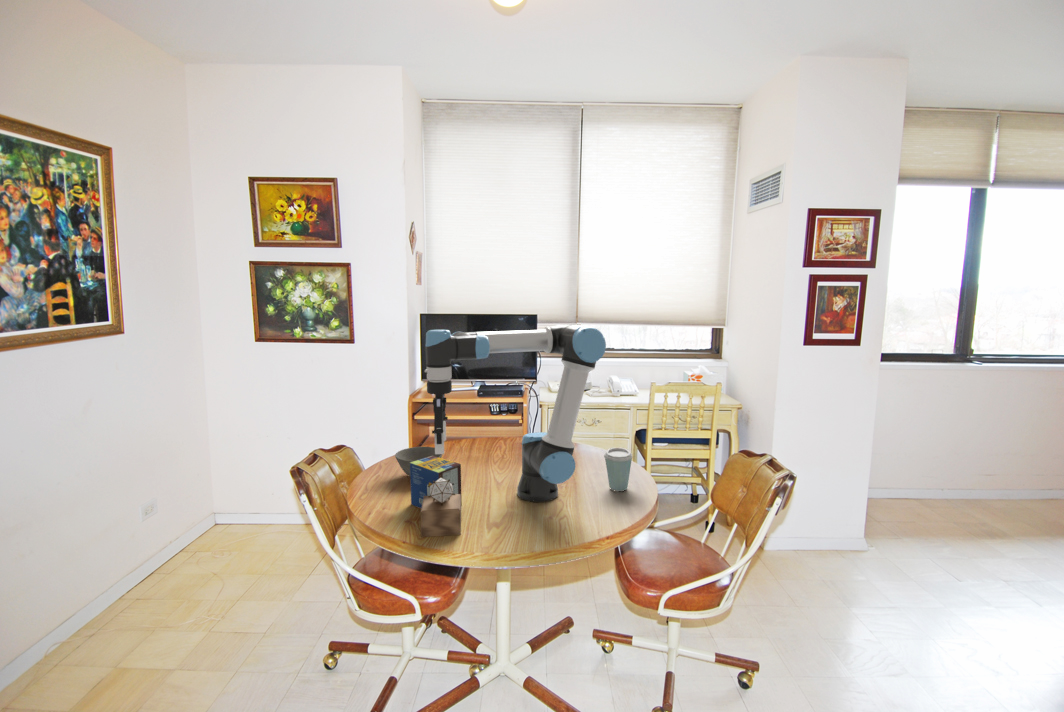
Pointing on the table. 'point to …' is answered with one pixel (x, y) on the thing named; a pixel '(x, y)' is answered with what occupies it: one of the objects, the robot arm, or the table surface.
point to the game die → (441, 490)
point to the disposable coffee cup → (618, 467)
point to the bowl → (413, 456)
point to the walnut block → (441, 516)
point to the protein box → (432, 476)
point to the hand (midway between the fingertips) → (440, 446)
